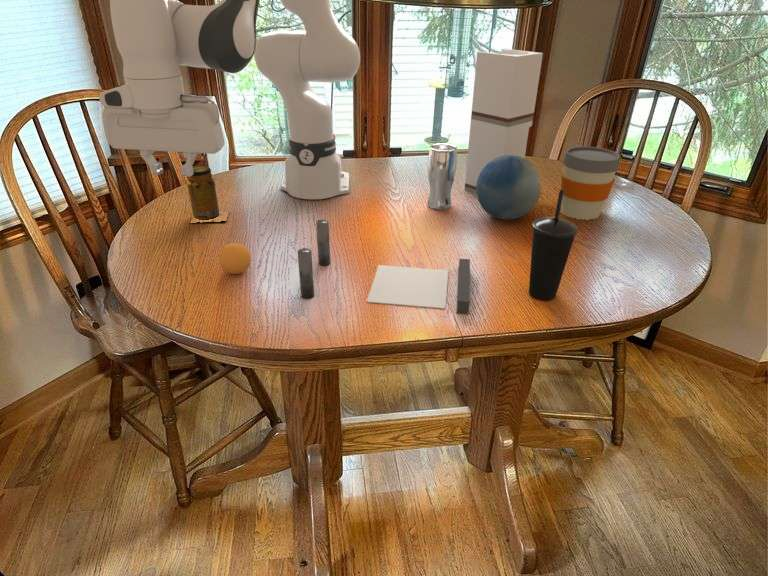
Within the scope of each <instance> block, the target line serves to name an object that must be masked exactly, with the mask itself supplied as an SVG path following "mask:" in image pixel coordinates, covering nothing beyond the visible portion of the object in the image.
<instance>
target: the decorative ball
mask: <svg viewBox="0 0 768 576" xmlns="http://www.w3.org/2000/svg"><path fill="white" fill-rule="evenodd" d="M541 184H542V183H541V178H540V175H539V172H538V170H537V168H536V167H535V166H534V165H533V164H532V163H531V162H530V161H529V160H527V159H526V158H525V159H524V158H522V157H519V156H514V155H506V156H501V157H498V158H496V159H494V160H492V161H491V162H489V163H488V164H487V165H486V166H485V167H484V168H483V169H482V171H481V173H480V174H479V177H478V180H477V185H476V194H475V195H476V198H477V201H478V203H479V205H480V206H481V208H482V209H483V211H485V212H486V213H487V214H488V215H490V216H492V217H493V218H496V219H499V220H508V221H509V220H515V219H519V218H521V217H523V216H525V215H526V214H528V213H529V212H530V211H531V210H533V208H534V207H535V205H537V203H538V201H539V199H540V195H541V190H542V189H541V187H542V186H541Z"/></svg>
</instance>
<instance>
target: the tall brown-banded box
mask: <svg viewBox="0 0 768 576" xmlns="http://www.w3.org/2000/svg"><path fill="white" fill-rule="evenodd" d="M543 55H544V52H536V51H529V50H521V49H520V50H519V49H512V48H510V49H509V48H501V53H496V52H488V51H476V59H475V60H476V61H475V71H474V72H475V73H474V83H473V84H474V85H473V93H472V102H471V103H472V106H471V114H470V115H471V117H470V124H469V125H470V127H469V137H468V149H467V159H466V171H465V179H464V190H463V191H465V192H468V193H471V194H474V195H477V194H476V185H477V180H478V177H479V174H480V173H481V171H482V169H483V168H484V167H485V166H486V165H487V164H488V163H489V162H491V161H492V160H494V159H496V158H498V157H501V156H506V155H514V156H519V157H522V158H524V159H526V158H525V157H526V151H527V145H528V138H529V132H530V128H532V126H533V122H534V115H535V109H536V108H535V107H536V101H537V94H538V88H539V81H540V76H541V68H542V64H543V63H542V61H543Z"/></svg>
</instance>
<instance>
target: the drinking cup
mask: <svg viewBox="0 0 768 576" xmlns="http://www.w3.org/2000/svg"><path fill="white" fill-rule="evenodd" d="M563 193H564V190H561V189H559V192H558V197H557V203H556V206H555V208H556V209H555V213H554V216H547V217H545V216H544V217H540V218H536V219H535V220H533V222H532V223H531V228H532V238H531V240H532V241H531V253H530V254H531V255H530V271H529V284H528V285H529V286H528V294H529V296H530V297H531V298H533V299H536V300H538V301H542V302H547V301H548V302H549V301H552V300H555V298H556V297H557V293H558V290H559V286H560V283H561V280H562V278H563V275H564V272H565V268H566V265H567V262H568V258H569V255H570V253H571V249H572V247H573V243H574V240H575V237H576V235H577V234H578V232H579V227H578V226H577V224H575V223H573V222H572V221H569V220H567V219H565V218H562V217H560V214H561V210H562V198H563Z"/></svg>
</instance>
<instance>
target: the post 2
mask: <svg viewBox="0 0 768 576" xmlns="http://www.w3.org/2000/svg"><path fill="white" fill-rule="evenodd" d="M315 222H316V224H315V227H316V239H317V240H316V244H317V260H318V265H319V266H322V267H326V266H330V265H331V246H330V245H331V244H330V225H329V223H330V222H329V220H326V219H319V220H316V221H315Z"/></svg>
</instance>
